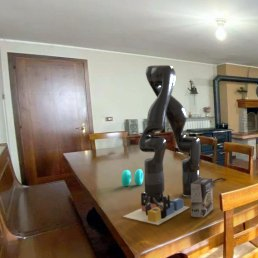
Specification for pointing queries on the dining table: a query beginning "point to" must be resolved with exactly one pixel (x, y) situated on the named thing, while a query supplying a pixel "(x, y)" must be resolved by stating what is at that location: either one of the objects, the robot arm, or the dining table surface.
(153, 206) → the left block
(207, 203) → the coffee box
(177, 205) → the right block
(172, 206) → the right block
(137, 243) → the dining table surface
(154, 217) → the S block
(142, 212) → the board
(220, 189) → the dining table surface
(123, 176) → the donuts
